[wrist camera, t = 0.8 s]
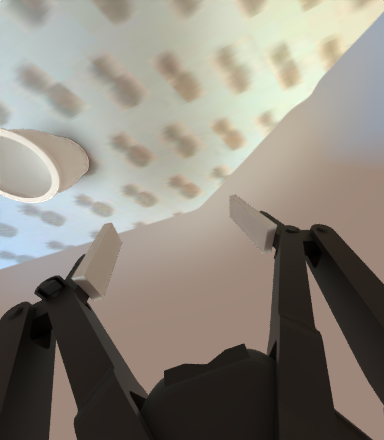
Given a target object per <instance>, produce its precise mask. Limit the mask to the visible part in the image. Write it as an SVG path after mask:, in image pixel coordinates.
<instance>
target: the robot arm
mask: <svg viewBox="0 0 384 440" xmlns="http://www.w3.org/2000/svg"><path fill="white" fill-rule="evenodd" d="M230 217H231V219H232V220H233V221H234V222H235V223H236V224H237V225H238V226H239V227H240V229H241V230H242V231H243V232H244V233H245V234H246V235H247V236H248V237H249V239H250V240H251V241H252V242H253V243H254V244H255V245H256V246H257V248H259V250H260V251H261V252H262V253H263V254H264V253H268V252H271V251H272V247H274V248H275V249H276V251H275V256H274V259H275V264H274V278H273V292H272V306H271V321H270V334H269V342H268V348H267V355H266V354H264V353H262V352H260V351H257V350H253V349H246V347H245V344H241V345H238V346H235V347H233V348H229V349H226V350H224V352H222V353H221V354H219V355H218V356H217V357H216V358H214V359H213V360H212V361H211V362H209V363H208V364H182V365H179V366H177V367H174V368H171V369H168V370H165V371H164V378H163V379H161V380H160V381H159V383H157V385H156V386H155V387H154V388H153V389H152V391H151V393H150V394H149V395H148V394H147V393H146V391H145V390H144V389H143V388H142V386H141V385H140V384H139V383H138V382H137V380H136V379H135V377H134V375H133V374H132V372H131V371H130V369H129V367H128V366H127V364H126V363H125V361H124V359H123V358H122V356H121V354H120V353H119V351H118V350H117V348H116V347H115V345H114V343H113V342H112V340H111V339H110V337H109V335H108V334H107V332H106V331H105V329H104V327H103V326H102V324H101V323H100V321H99V319H98V318H97V316H96V314H95V313H94V311H93V310H92V308H91V306H90V305H89V304H88V303H87V300H88V298H89V297H90V298H91V299H92V300H93V301H95V300H99V299H102V298H104V296H105V293H106V290H107V287H108V284H109V281H110V278H111V275H112V272H113V269H114V266H115V263H116V260H117V257H118V254H119V251H120V248H121V245H122V241H121V239H120V237H119V235H118V233H117V231H116V230H115V228H114V226H113V224H112V223H108V224H104V225H103V227H102V229H101V230H100V232H99V234H98V235H97V237H96V239H95V240H94V242H93V243H92V245H91V247H90V248H89V250H88V252H87V253H86V254H84V255H82V256H81V257H80V258H79V259H78V261H77V262H76V263H75V266H74V267H73V268H72V270H71V271H70V273H69V275H68V276H67V277H66V279H65V280H64V279H63V278H62V277H60V276H53V277H51V278H49V279H47V280H45V281H44V282H42V283H41V284H40V285H39V286H38V287H37V289H36V290H35V294H36V295H37V296H38V297H40V298H41V299H42V300H41V301H39V302H37V303H35V304H33V305H32V304H30V303H29V302H22V303H20V304H18V305H16V306H14V307H12V308H11V309H10V310H8V311H7V312H6V313H5V314H4V315H3V316H2V318H1V319H0V440H49V430H50V416H51V402H52V389H53V375H54V361H55V347H56V340H57V343H58V347H59V350H60V353H61V356H62V359H63V363H64V366H65V369H66V372H67V376H68V379H69V382H70V385H71V388H72V391H73V395H74V398H75V401H76V404H77V408H78V413H77V415H76V417H75V418H74V428H75V433H76V437H77V440H372V439H371V438H370V437H369V436H367V435H366V434H365V433H364V432H362V431H361V430H360V429H359V428H358V427H356V426H355V425H354V424H353V423H351V422H350V421H349V420H348V419H346V418H345V417H344V416H343V415H341V414H340V413H339V412H338V411H336V410H335V409H334V405H333V399H332V393H331V387H330V381H329V375H328V369H327V364H326V357H325V352H324V345H323V340H322V336H321V334H320V332H319V331H318V330H316V328H315V324H314V317H313V311H312V303H311V296H310V289H309V281H308V274H307V267H306V262H307V264H308V266H309V268H310V270H311V272H312V274H313V275H314V278H315V280H316V281H317V283H318V285H319V287H320V289H321V291H322V293H323V295H324V297H325V299H326V301H327V303H328V305H329V307H330V309H331V311H332V313H333V315H334V317H335V319H336V321H337V322H338V324H339V326H340V328H341V330H342V332H343V334H344V336H345V338H346V340H347V342H348V344H349V346H350V348H351V350H352V352H353V354H354V356H355V358H356V360H357V362H358V364H359V366H360V367H361V369H362V371H363V373H364V374H365V376H366V378H367V380H368V382H369V383H370V385H371V386H372V388H373V389H374V391H375V393H376V394H377V396H378V397H379V398H380V400H381V402H382V403H383V405H384V284H383V283H382V282H381V281H380V280H379V278H377V276H376V275H375V274H374V273H373V272H372V271H371V270H370V269H369V268H368V267H367V265H366V264H365V263H364V262H363V261H362V260H361V259H360V258H359V257H358V256H357V255H356V254H355V253H354V251H353V250H352V249H351V248H350V247H349V246H348V245H347V244H346V243H345V242H344V241H343V239H341V237H340V236H339V235H338V234H337V233H336V232H335V231H334V230H333V229H332V228H331V227H328V226H326V225H322V224H321V225H320V224H315V225H313V226H312V227H311V229H310V230H300V229H299V228H297V227H295V226H290V225H286V226H285V225H284V224H282V223H281V222H279V221H278V220H276V219H275V218H274V217H272V216H271V215H269V214H268V213H266V212H263V211H260V212H259V211H257V210H256V209H255V208H253V207H252V206H251V205H249V204H248V203H246V202H245V201H244V200H242V199H241V198H240V197H238V196H237V195H232V196H230ZM383 412H384V408H383Z"/></svg>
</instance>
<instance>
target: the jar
mask: <svg viewBox="0 0 384 440" xmlns="http://www.w3.org/2000/svg"><path fill="white" fill-rule="evenodd" d="M88 168H89V159H88V156H87V154H86V153H85V151H84V150H83V149H82V148H81V146H79V145H78V144H77V143H76V142H74V141H72V140H70V139H67V138H64V137H58V136H55V135H51V134H48V133H45V132H41V131H36V130H30V129H11V130H7V129H3V128H0V195H2V196H5V197H7V198H10V199H13V200H16V201H20V202H26V203H39V202H44V201H47V200H49V199H51V198H52V197H54V196H55V195H56V194H57V193H60V192H62V191H65V190H67V189H69V188H70V187H72V186H73V185H74V184H75V183H76V182H77V181H78V180H79V179H80V178H81V176H82V175H83V174H85V173H86V172H87V171H88Z"/></svg>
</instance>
